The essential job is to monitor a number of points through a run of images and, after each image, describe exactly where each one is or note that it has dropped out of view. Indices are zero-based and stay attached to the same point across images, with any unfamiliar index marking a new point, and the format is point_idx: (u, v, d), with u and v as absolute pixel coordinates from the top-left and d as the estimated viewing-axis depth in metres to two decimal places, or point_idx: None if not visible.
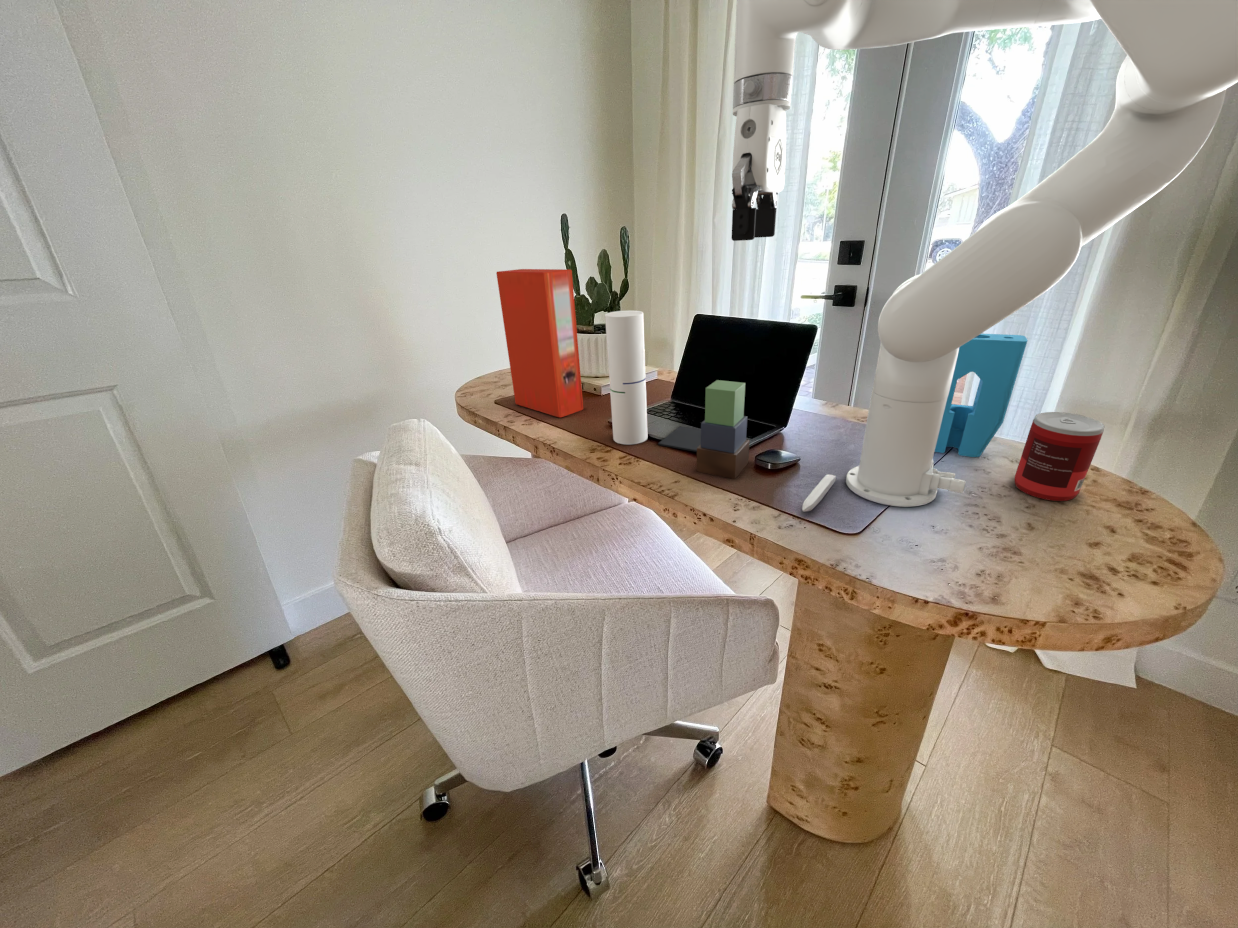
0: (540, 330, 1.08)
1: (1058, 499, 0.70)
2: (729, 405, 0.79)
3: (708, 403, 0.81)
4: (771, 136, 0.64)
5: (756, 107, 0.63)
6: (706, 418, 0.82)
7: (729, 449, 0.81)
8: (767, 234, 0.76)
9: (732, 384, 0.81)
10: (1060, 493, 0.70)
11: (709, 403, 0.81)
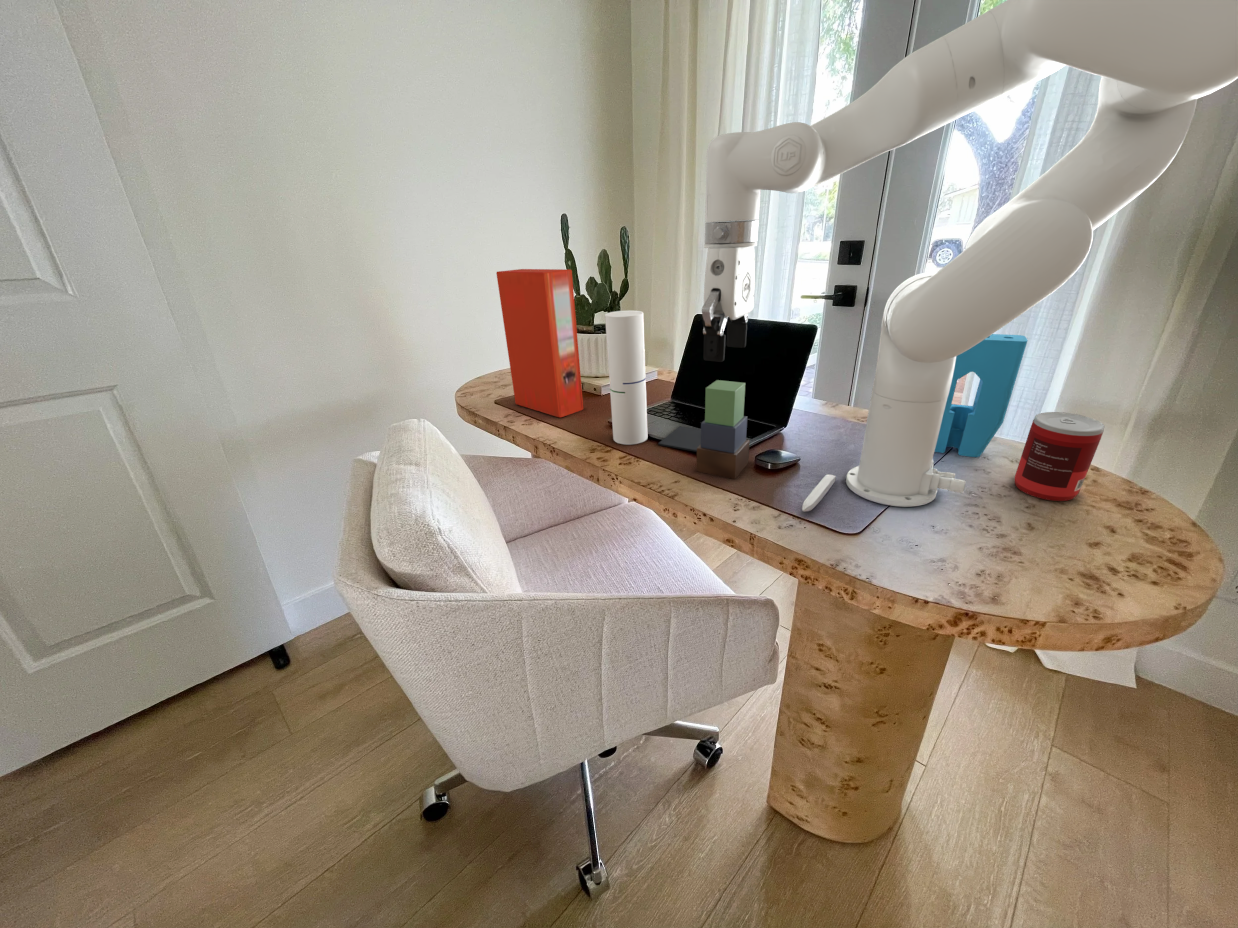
0: (540, 330, 1.08)
1: (1058, 499, 0.70)
2: (729, 405, 0.79)
3: (708, 403, 0.81)
4: (738, 274, 0.69)
5: (724, 250, 0.68)
6: (706, 418, 0.82)
7: (729, 449, 0.81)
8: (739, 345, 0.81)
9: (732, 384, 0.81)
10: (1060, 493, 0.70)
11: (709, 403, 0.81)
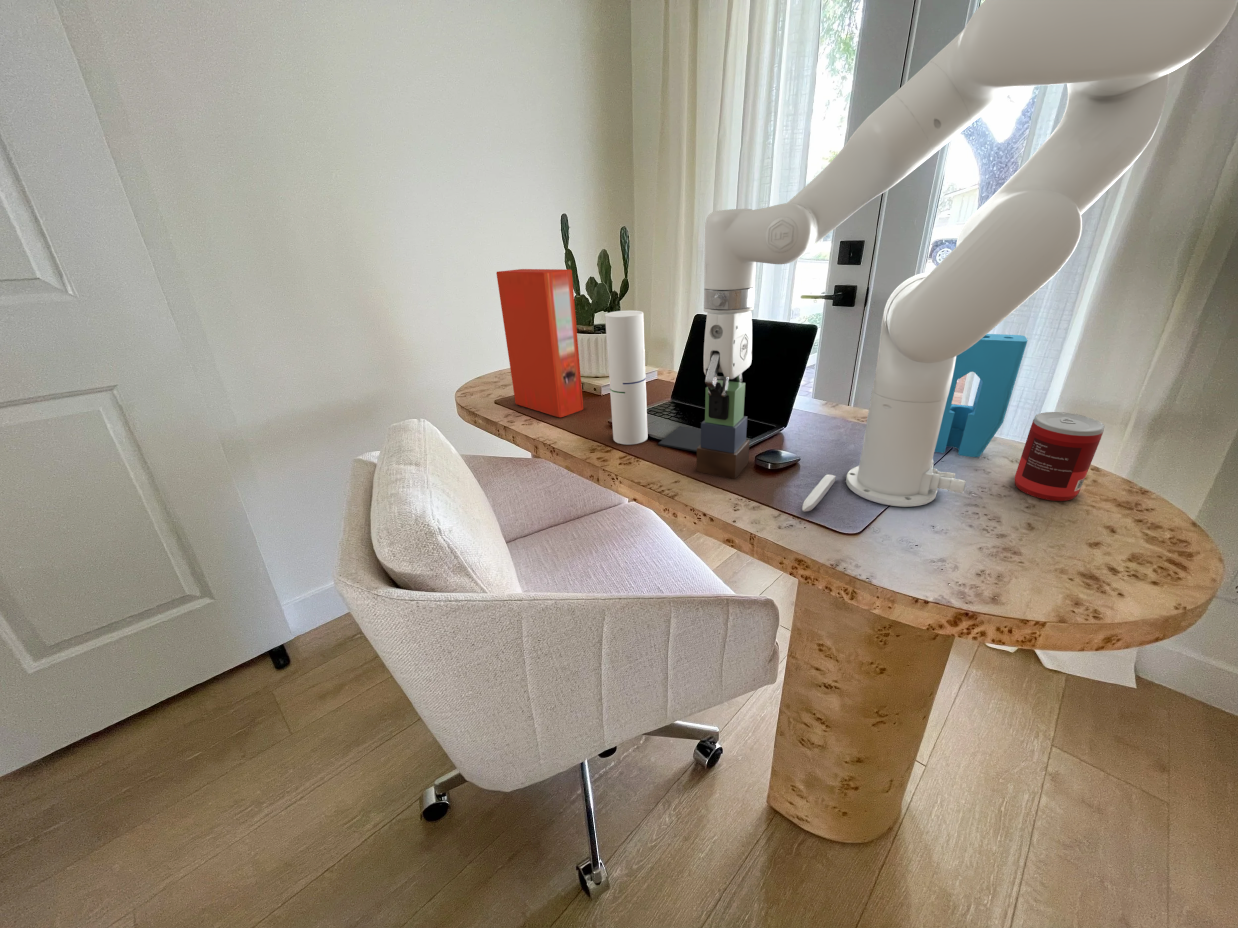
0: (540, 330, 1.08)
1: (1058, 499, 0.70)
2: (729, 405, 0.79)
3: (708, 403, 0.81)
4: (736, 338, 0.73)
5: (722, 316, 0.72)
6: (706, 418, 0.82)
7: (729, 449, 0.81)
8: None
9: (732, 384, 0.81)
10: (1060, 493, 0.70)
11: None
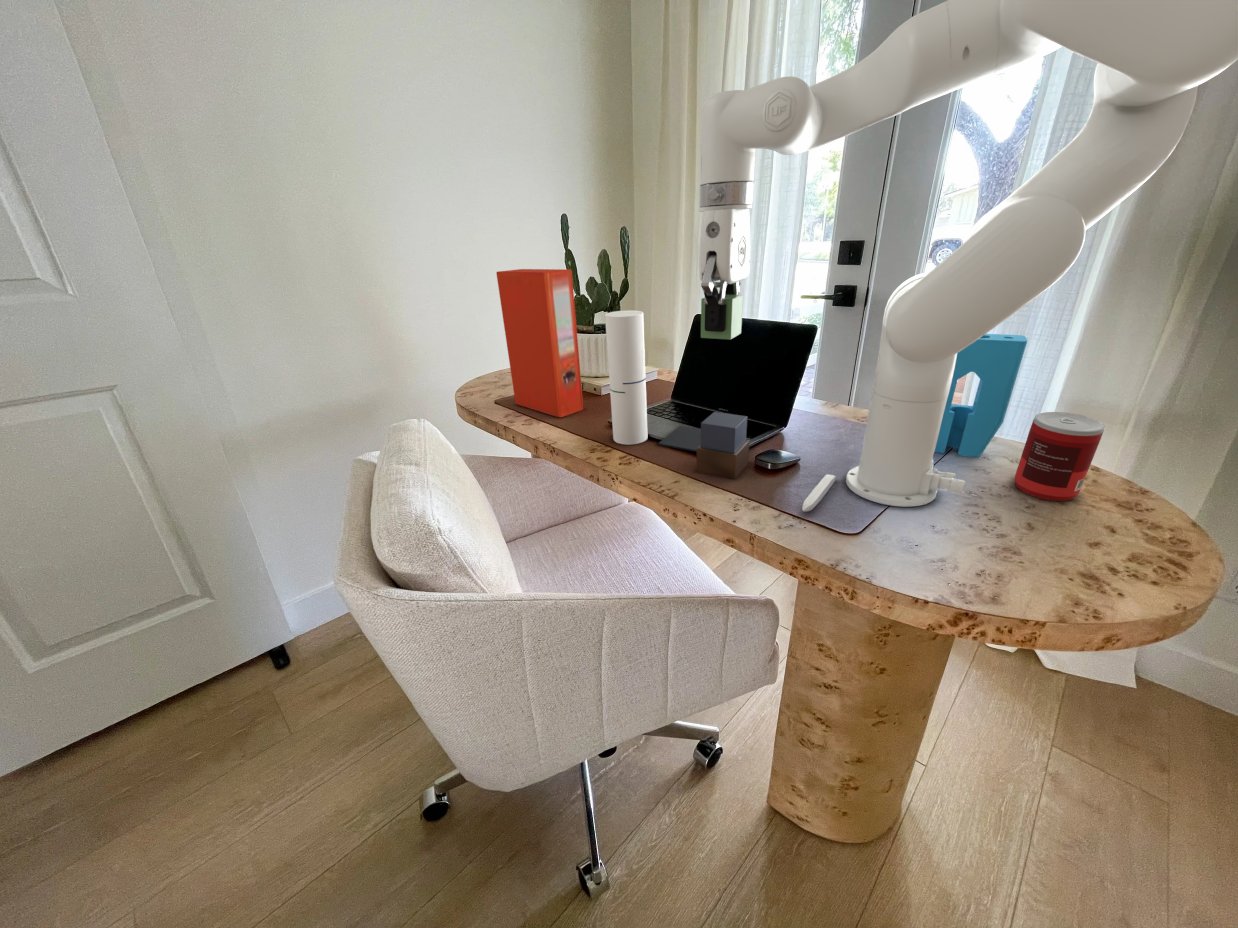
0: (540, 330, 1.08)
1: (1058, 499, 0.70)
2: (726, 316, 0.75)
3: (704, 315, 0.76)
4: (734, 236, 0.69)
5: (719, 211, 0.67)
6: (702, 333, 0.78)
7: (729, 449, 0.81)
8: None
9: (729, 296, 0.76)
10: (1060, 493, 0.70)
11: None
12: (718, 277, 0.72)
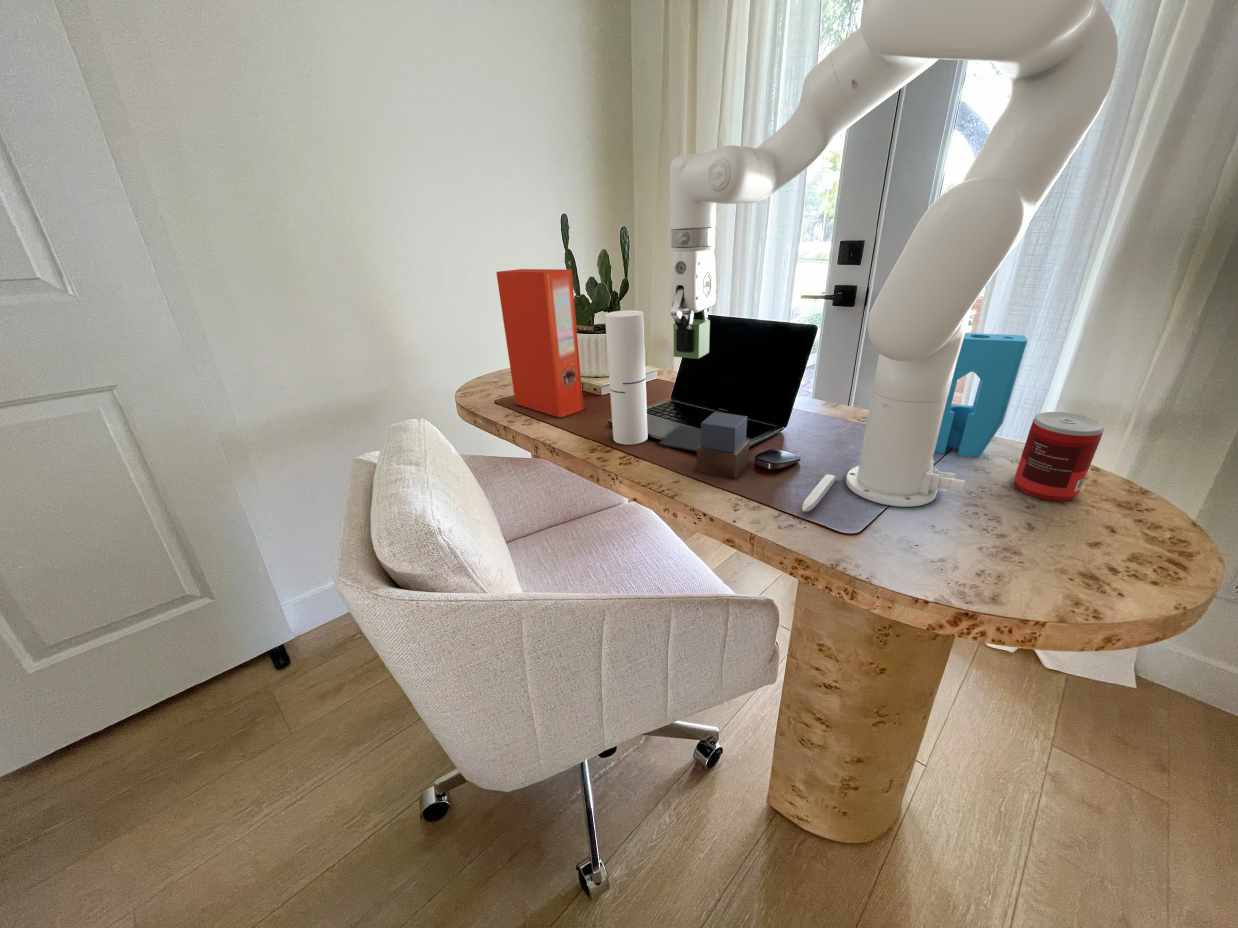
0: (540, 330, 1.08)
1: (1058, 499, 0.70)
2: (694, 339, 0.87)
3: None
4: (698, 273, 0.81)
5: (686, 253, 0.80)
6: (674, 352, 0.90)
7: (729, 449, 0.81)
8: None
9: (697, 321, 0.89)
10: (1060, 493, 0.70)
11: None
12: (686, 306, 0.85)
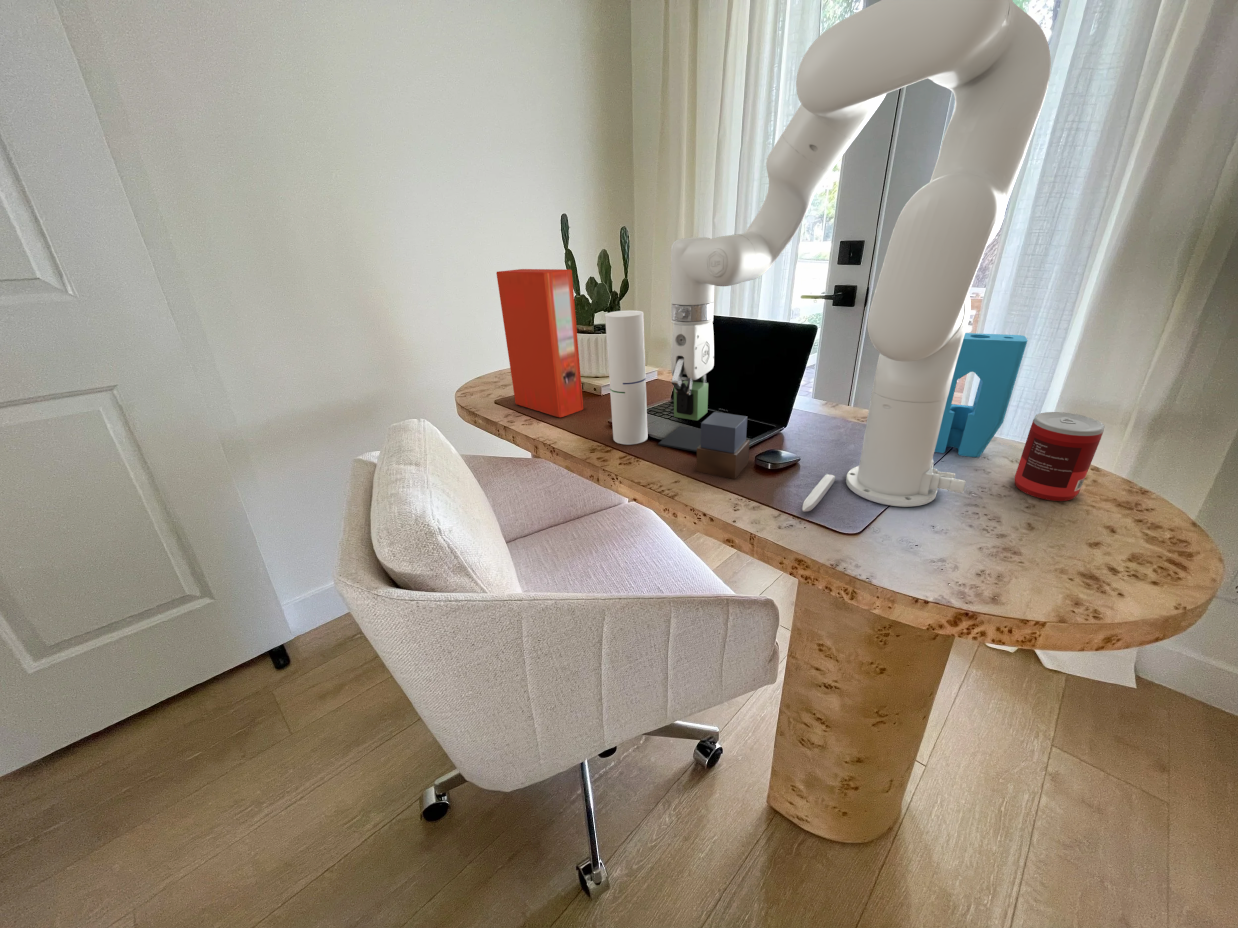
0: (540, 330, 1.08)
1: (1058, 499, 0.70)
2: (693, 402, 0.92)
3: (676, 400, 0.94)
4: (698, 345, 0.86)
5: (685, 327, 0.85)
6: (675, 413, 0.95)
7: (729, 449, 0.81)
8: None
9: (696, 384, 0.94)
10: (1060, 493, 0.70)
11: None
12: (686, 373, 0.90)
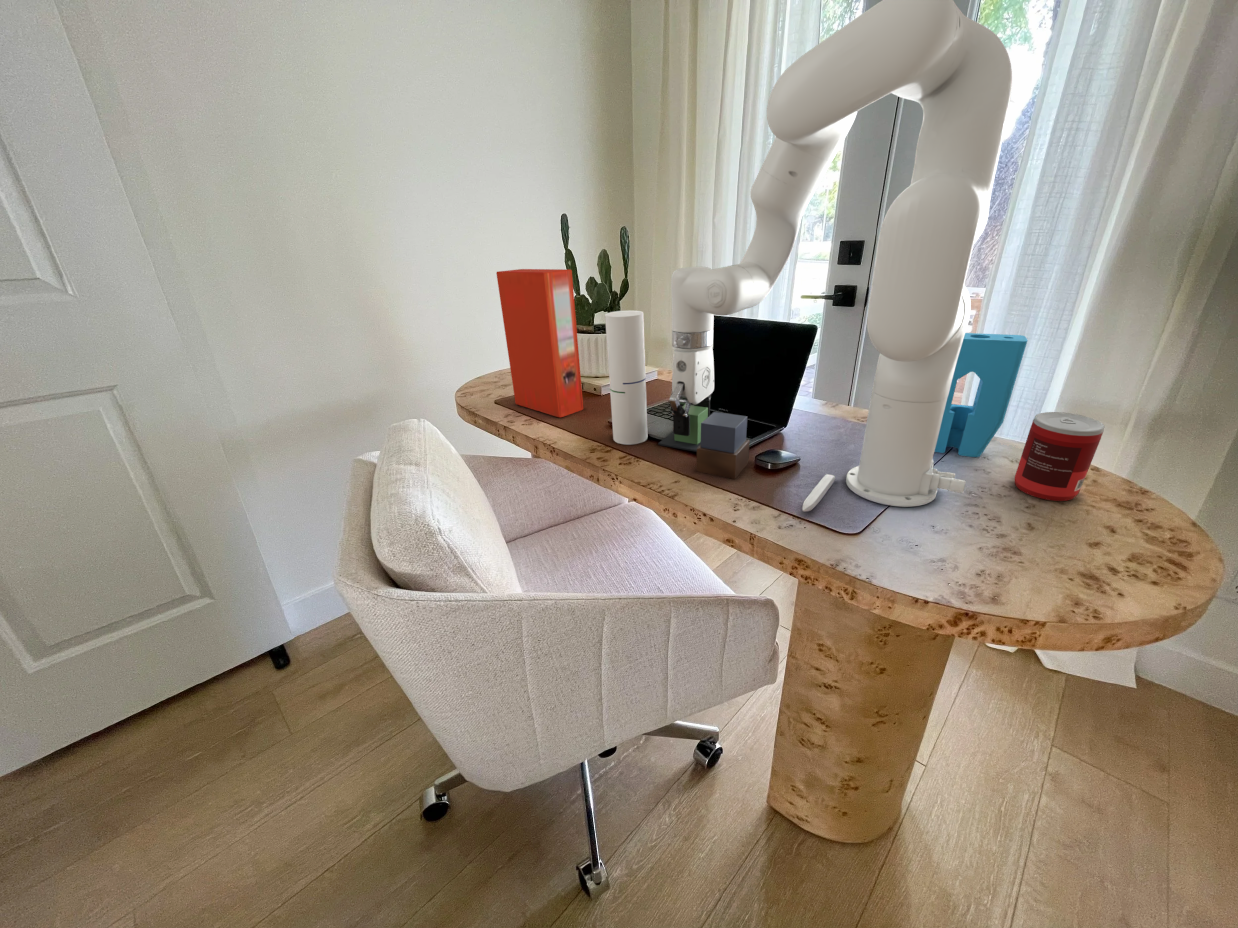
0: (540, 330, 1.08)
1: (1058, 499, 0.70)
2: (693, 427, 0.94)
3: None
4: (698, 371, 0.88)
5: (686, 354, 0.87)
6: (675, 437, 0.97)
7: (729, 449, 0.81)
8: None
9: (696, 409, 0.96)
10: (1060, 493, 0.70)
11: None
12: None
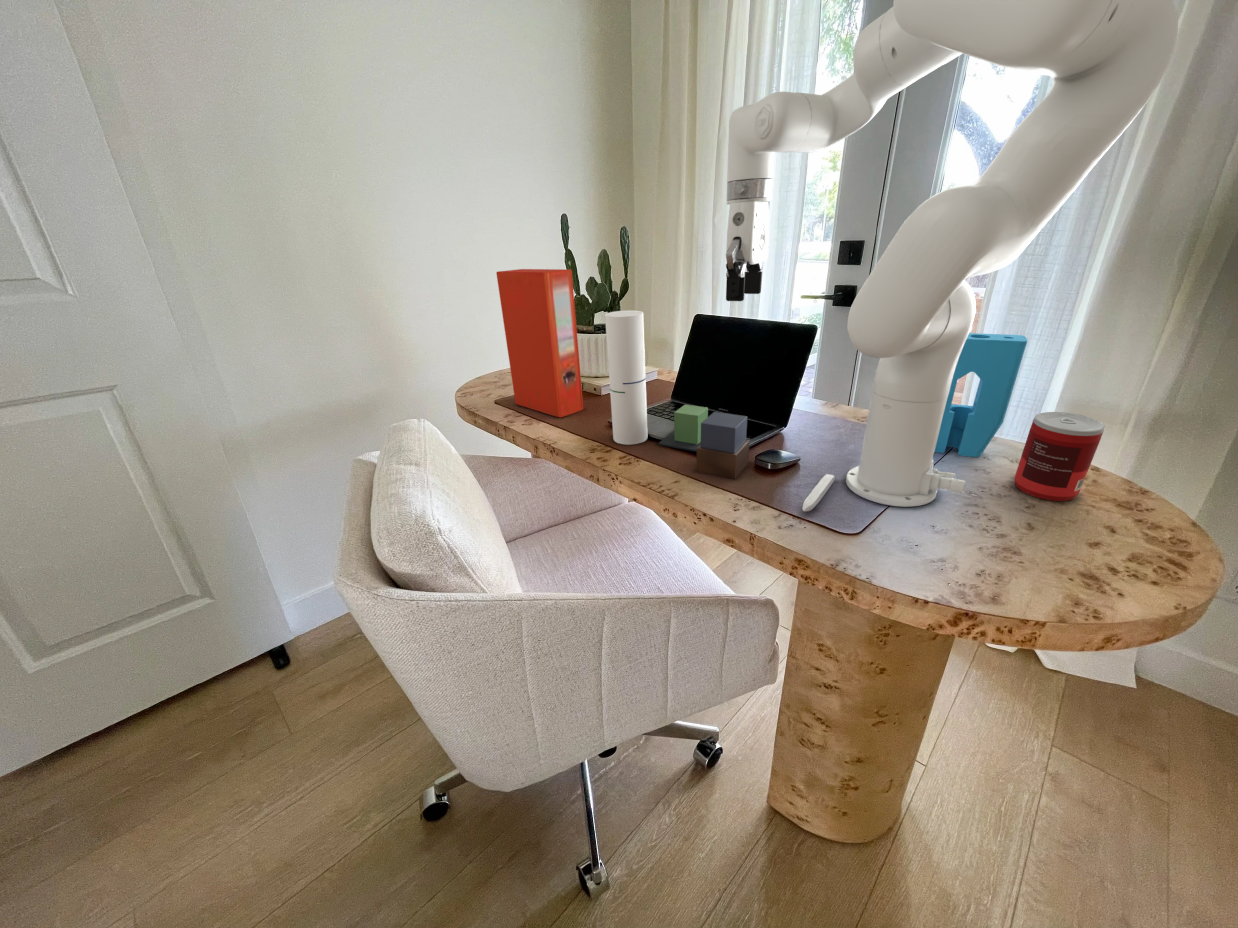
0: (540, 330, 1.08)
1: (1058, 499, 0.70)
2: (693, 427, 0.94)
3: (676, 424, 0.96)
4: (756, 224, 0.83)
5: (744, 203, 0.81)
6: (675, 437, 0.97)
7: (729, 449, 0.81)
8: (755, 292, 0.95)
9: (696, 409, 0.96)
10: (1060, 493, 0.70)
11: (677, 425, 0.96)
12: (742, 259, 0.86)
